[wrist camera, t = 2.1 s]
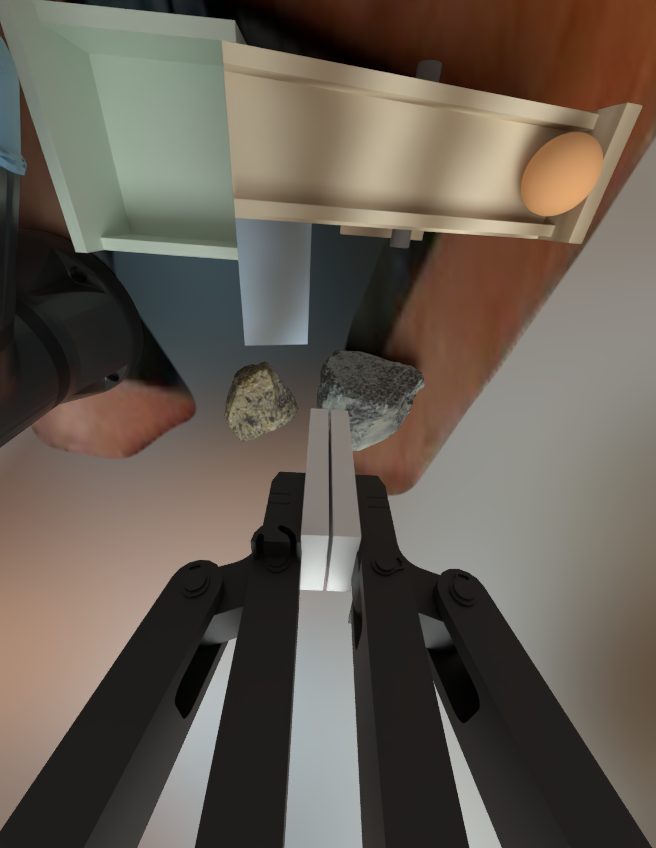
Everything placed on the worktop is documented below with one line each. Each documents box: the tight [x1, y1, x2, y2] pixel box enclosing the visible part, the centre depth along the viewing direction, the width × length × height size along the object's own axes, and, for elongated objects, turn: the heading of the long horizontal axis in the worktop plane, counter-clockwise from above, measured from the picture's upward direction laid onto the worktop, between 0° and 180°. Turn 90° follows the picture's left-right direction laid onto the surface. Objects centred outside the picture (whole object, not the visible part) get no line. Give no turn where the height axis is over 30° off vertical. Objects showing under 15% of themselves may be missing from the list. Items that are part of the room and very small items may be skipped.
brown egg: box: [521, 132, 603, 216], centre depth 17 cm, size 4×4×4 cm
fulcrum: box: [340, 225, 424, 240], centre depth 22 cm, size 14×8×8 cm, turn 86°
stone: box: [317, 350, 424, 451], centre depth 33 cm, size 10×10×10 cm
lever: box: [222, 40, 642, 346], centre depth 19 cm, size 20×14×4 cm
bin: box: [0, 0, 247, 260], centre depth 22 cm, size 12×12×7 cm
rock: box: [224, 362, 298, 441], centre depth 35 cm, size 7×8×4 cm
